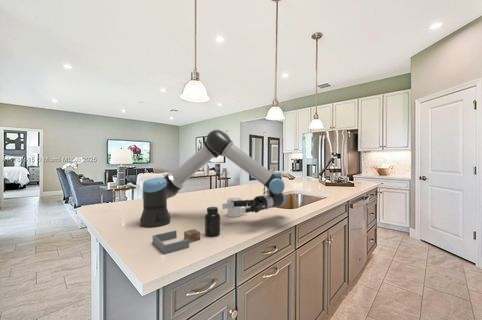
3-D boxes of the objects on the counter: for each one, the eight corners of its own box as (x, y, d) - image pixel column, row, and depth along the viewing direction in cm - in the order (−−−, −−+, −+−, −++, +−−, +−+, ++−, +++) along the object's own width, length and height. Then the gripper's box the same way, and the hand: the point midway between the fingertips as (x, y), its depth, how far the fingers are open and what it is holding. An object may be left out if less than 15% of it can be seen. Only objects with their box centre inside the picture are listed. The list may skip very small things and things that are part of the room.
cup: (226, 214, 133) (226, 197, 133) (245, 213, 136) (245, 196, 136) (228, 218, 125) (228, 200, 125) (248, 216, 128) (248, 199, 128)
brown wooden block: (194, 236, 97) (194, 228, 96) (200, 240, 93) (200, 231, 93) (184, 239, 93) (184, 231, 93) (189, 243, 89) (189, 234, 89)
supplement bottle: (212, 230, 104) (212, 205, 104) (223, 233, 100) (223, 207, 99) (201, 234, 99) (201, 208, 99) (212, 238, 94) (212, 210, 94)
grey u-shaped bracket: (175, 237, 96) (175, 230, 96) (189, 247, 85) (189, 239, 85) (152, 242, 90) (152, 235, 90) (163, 254, 79) (163, 246, 79)
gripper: (280, 213, 108) (247, 222, 95) (248, 205, 128) (217, 211, 115) (280, 198, 108) (247, 205, 95) (247, 192, 128) (216, 197, 115)
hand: (230, 208), depth 105 cm, fingers open, 13 cm apart
